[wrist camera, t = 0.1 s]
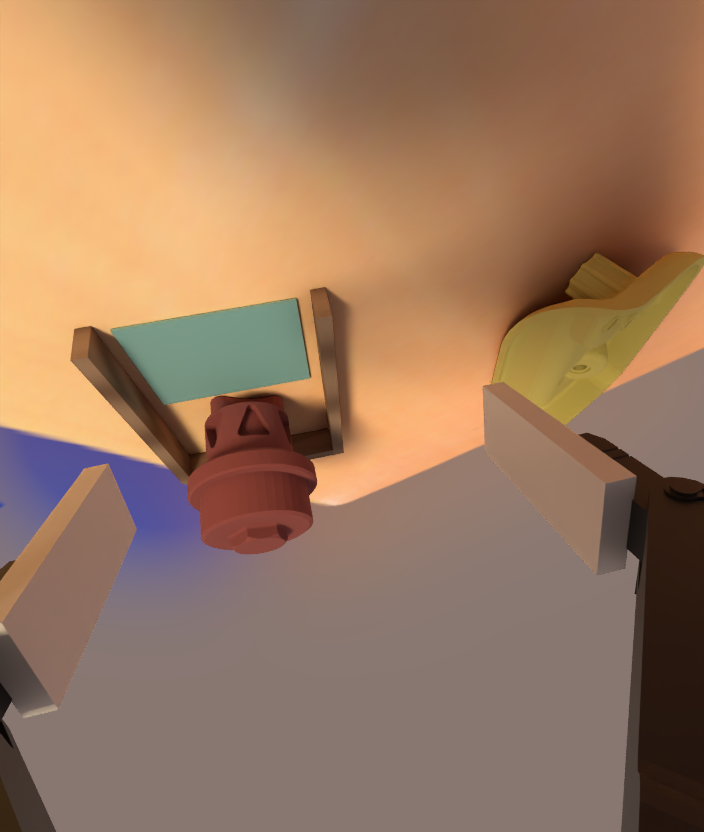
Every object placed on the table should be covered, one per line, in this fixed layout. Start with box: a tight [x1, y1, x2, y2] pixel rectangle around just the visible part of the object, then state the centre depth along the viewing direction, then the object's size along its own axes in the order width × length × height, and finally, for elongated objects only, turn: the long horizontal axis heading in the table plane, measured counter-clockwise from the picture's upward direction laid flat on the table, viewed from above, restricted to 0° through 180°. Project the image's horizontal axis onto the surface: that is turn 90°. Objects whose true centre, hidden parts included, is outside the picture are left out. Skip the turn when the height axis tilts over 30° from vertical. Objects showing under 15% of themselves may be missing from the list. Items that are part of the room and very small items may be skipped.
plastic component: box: [492, 252, 704, 425], centre depth 38 cm, size 20×7×10 cm
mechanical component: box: [187, 396, 317, 554], centre depth 37 cm, size 12×10×10 cm
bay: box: [71, 288, 344, 484], centre depth 37 cm, size 20×16×2 cm
